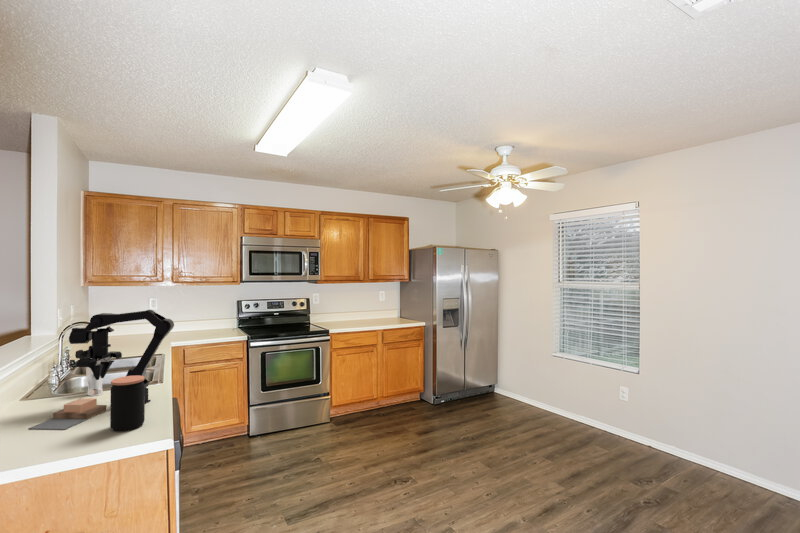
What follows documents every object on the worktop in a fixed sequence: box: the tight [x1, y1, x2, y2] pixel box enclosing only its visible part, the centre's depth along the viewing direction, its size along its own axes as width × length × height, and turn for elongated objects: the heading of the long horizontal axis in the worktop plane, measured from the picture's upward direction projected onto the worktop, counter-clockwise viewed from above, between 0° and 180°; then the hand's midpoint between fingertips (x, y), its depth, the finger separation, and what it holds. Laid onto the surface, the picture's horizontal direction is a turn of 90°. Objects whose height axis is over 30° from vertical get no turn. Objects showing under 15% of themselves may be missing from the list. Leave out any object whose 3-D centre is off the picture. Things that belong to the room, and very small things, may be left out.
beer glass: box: [85, 367, 104, 397], centre depth 192 cm, size 7×7×15 cm
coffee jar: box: [109, 375, 146, 433], centre depth 152 cm, size 11×11×18 cm
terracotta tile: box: [63, 397, 98, 413], centre depth 164 cm, size 7×8×3 cm
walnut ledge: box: [52, 404, 107, 421], centre depth 164 cm, size 14×10×2 cm
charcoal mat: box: [28, 417, 88, 431], centre depth 154 cm, size 14×10×1 cm
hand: (99, 378), depth 174 cm, fingers open, 2 cm apart
